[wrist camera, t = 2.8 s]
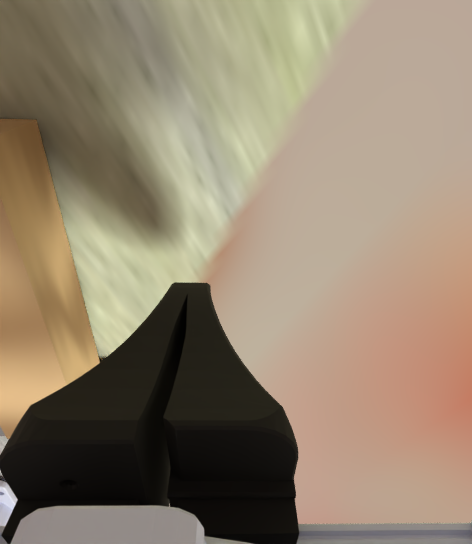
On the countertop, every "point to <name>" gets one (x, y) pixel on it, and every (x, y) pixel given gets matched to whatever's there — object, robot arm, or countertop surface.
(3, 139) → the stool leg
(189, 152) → the countertop surface
